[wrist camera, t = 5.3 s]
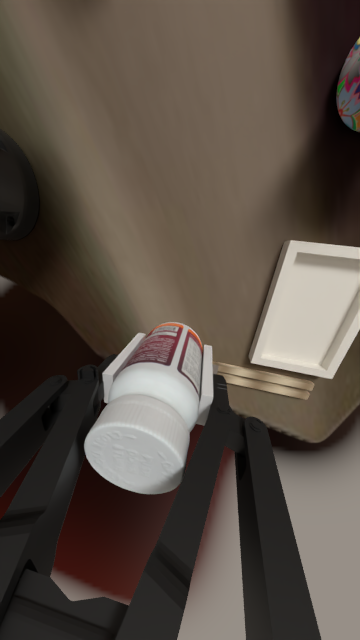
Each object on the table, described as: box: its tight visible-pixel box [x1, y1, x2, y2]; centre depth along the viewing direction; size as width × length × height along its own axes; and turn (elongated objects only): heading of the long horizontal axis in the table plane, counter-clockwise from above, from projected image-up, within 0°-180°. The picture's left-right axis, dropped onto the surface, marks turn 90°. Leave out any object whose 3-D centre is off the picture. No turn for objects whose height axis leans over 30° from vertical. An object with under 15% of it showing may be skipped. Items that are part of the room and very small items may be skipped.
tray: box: [248, 240, 360, 379], centre depth 24 cm, size 12×18×2 cm, turn 173°
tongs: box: [212, 361, 314, 400], centre depth 30 cm, size 18×3×1 cm, turn 83°
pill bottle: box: [84, 322, 203, 494], centre depth 13 cm, size 6×6×11 cm
